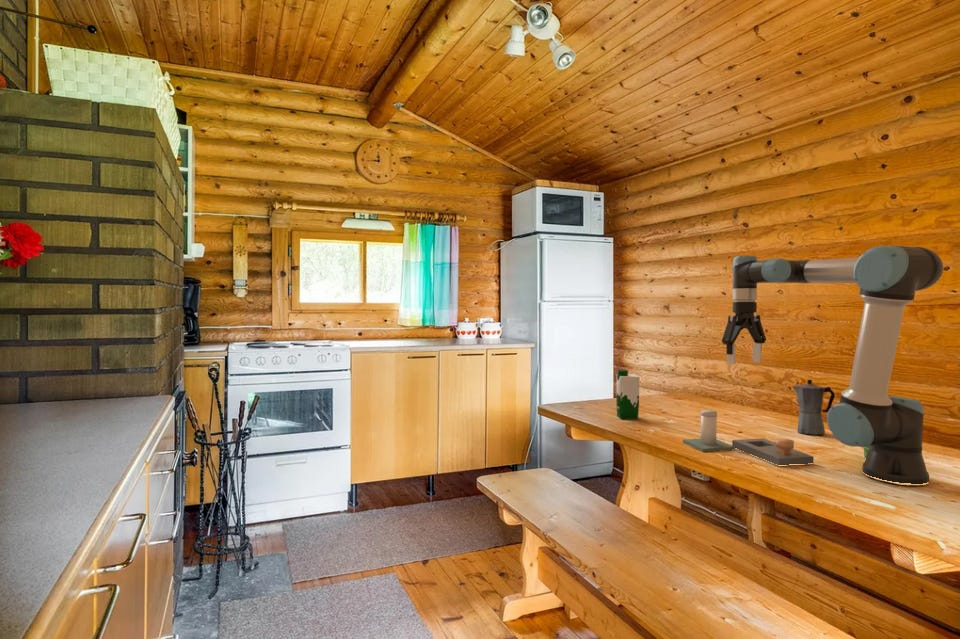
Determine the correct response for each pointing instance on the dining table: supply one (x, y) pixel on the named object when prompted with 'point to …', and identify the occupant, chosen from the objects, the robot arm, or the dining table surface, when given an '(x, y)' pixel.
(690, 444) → the mat
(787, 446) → the brown mushroom
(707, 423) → the cylinder
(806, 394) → the moka pot
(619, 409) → the milk carton
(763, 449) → the housing
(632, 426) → the dining table surface
